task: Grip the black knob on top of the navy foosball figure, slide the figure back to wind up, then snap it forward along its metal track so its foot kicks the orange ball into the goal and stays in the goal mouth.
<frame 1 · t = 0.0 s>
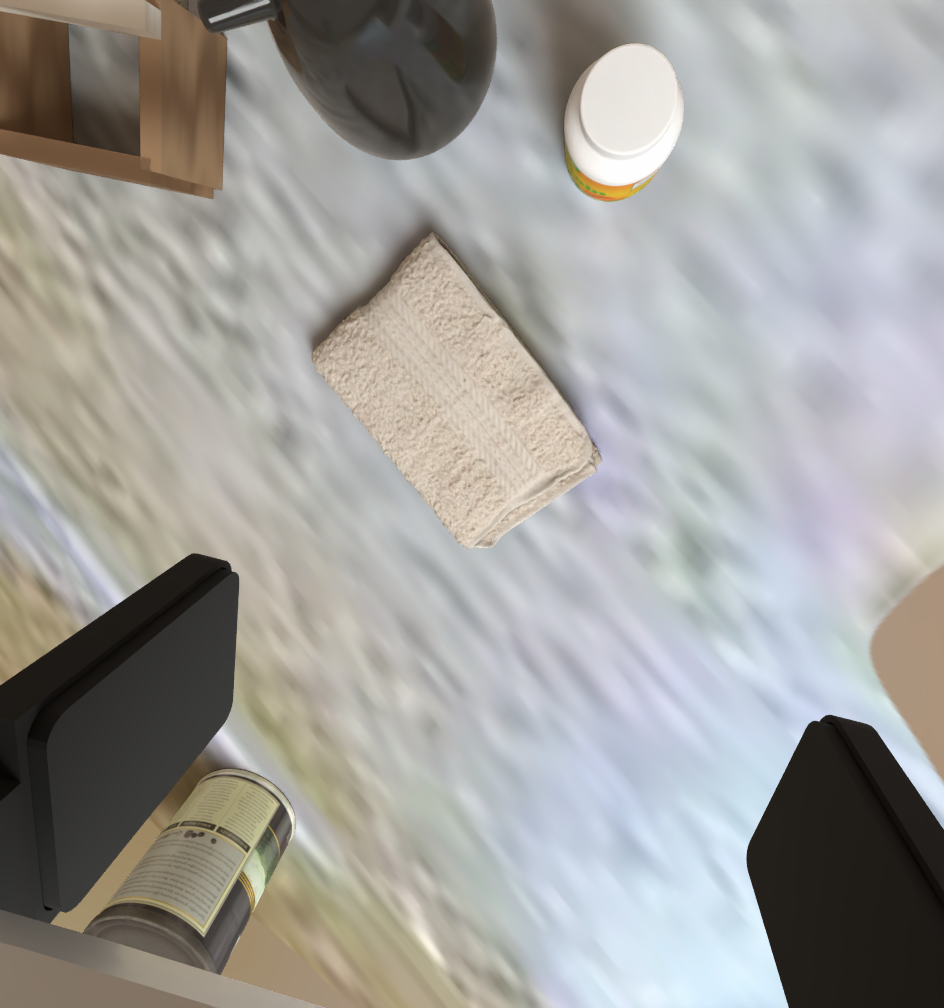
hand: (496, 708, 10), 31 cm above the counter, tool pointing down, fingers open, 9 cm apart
supplement bottle: (613, 151, 34), on the counter
washcloth: (461, 402, 41), on the counter
pump dispenser: (414, 73, 34), on the counter
coffee can: (245, 809, 56), on the counter
goal: (137, 101, 37), on the counter
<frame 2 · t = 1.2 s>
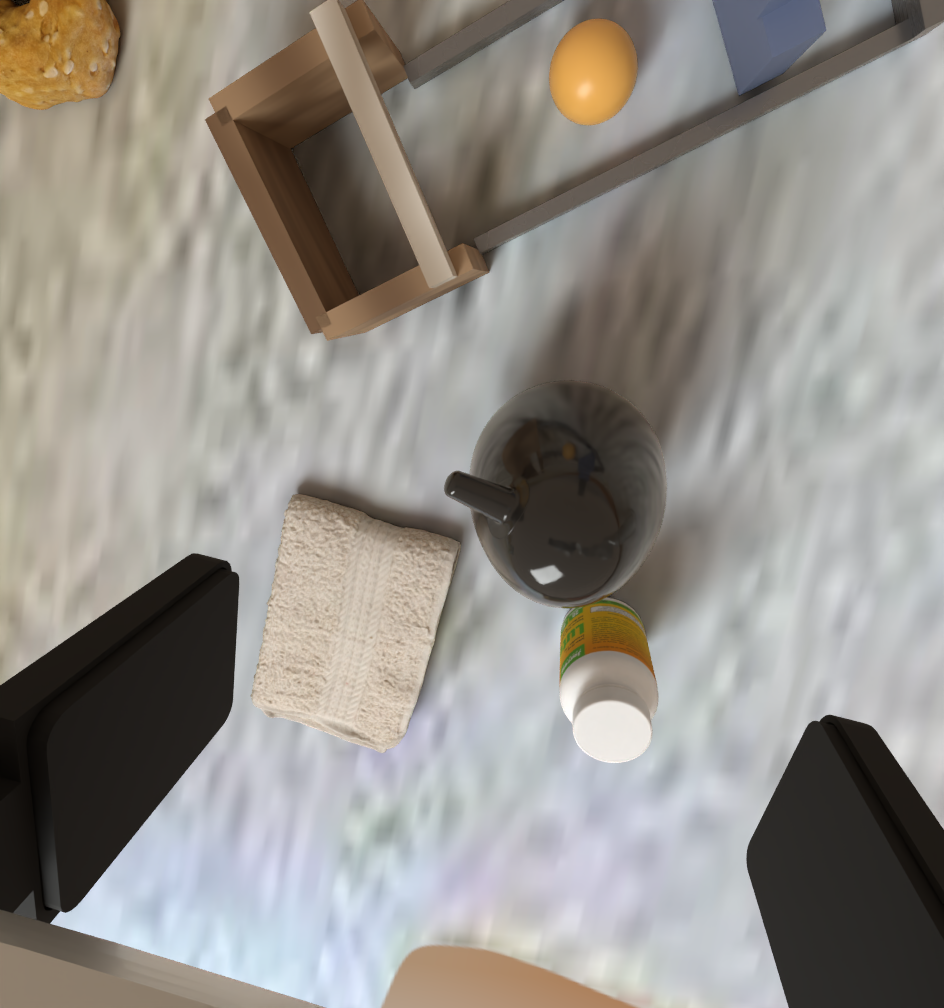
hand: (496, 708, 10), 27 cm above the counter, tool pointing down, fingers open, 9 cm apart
bagel: (44, 8, 32), on the counter
track: (736, 8, 28), on the counter
supplement bottle: (601, 629, 40), on the counter
ball: (592, 74, 28), point 2 cm above the counter
washcloth: (356, 619, 43), on the counter
pump dispenser: (564, 455, 36), on the counter
goal: (381, 202, 33), on the counter
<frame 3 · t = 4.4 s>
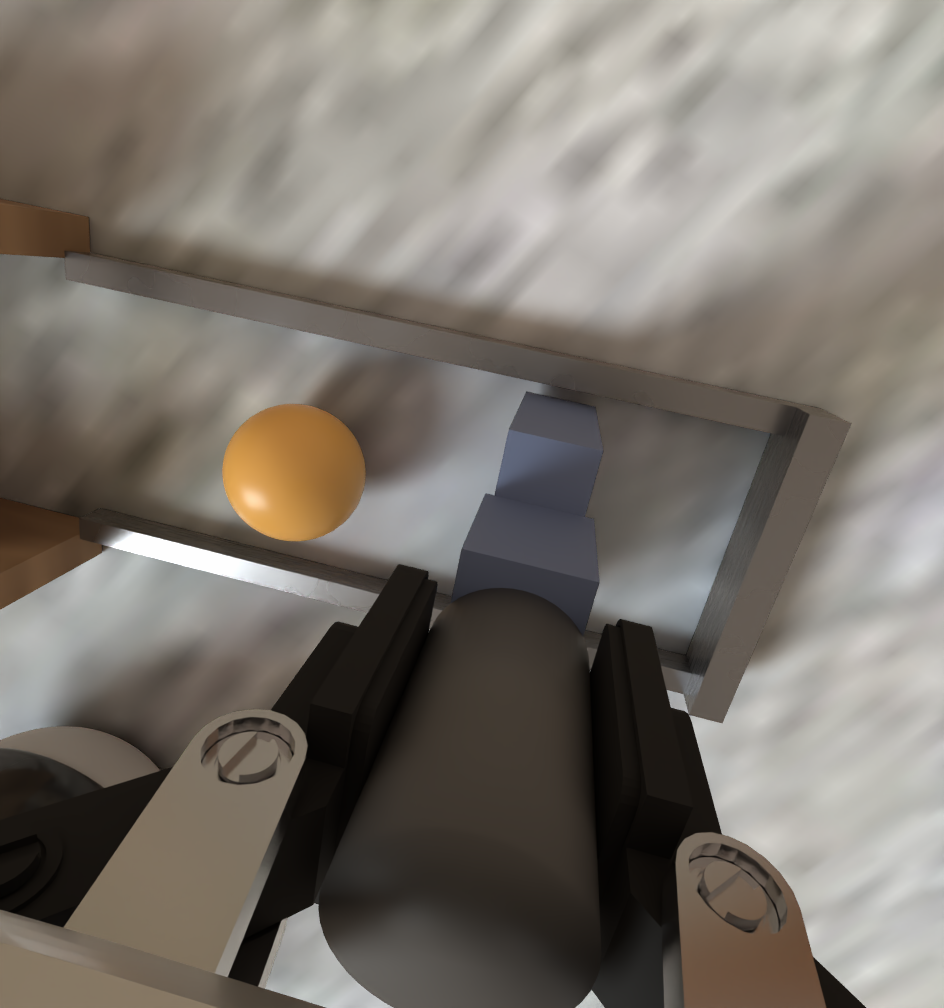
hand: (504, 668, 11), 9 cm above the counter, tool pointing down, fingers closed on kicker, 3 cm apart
track: (534, 505, 19), on the counter
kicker: (513, 619, 12), point 7 cm above the counter, slide at 0.0 cm, touching gripper
ball: (296, 472, 18), point 2 cm above the counter
pump dispenser: (114, 777, 26), on the counter
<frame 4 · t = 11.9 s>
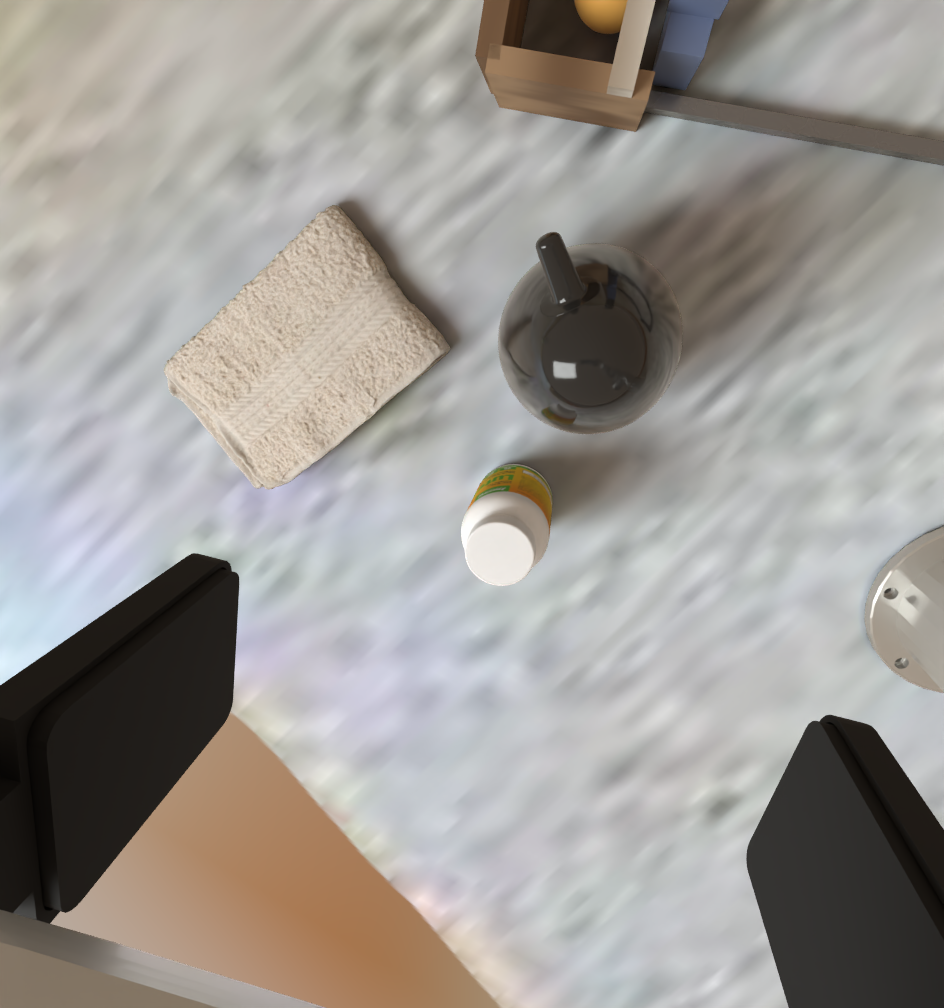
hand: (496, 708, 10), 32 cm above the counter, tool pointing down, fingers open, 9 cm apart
supplement bottle: (515, 497, 43), on the counter
washcloth: (309, 360, 42), on the counter
pump dispenser: (585, 333, 38), on the counter
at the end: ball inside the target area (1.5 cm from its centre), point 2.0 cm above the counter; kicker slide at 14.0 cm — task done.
